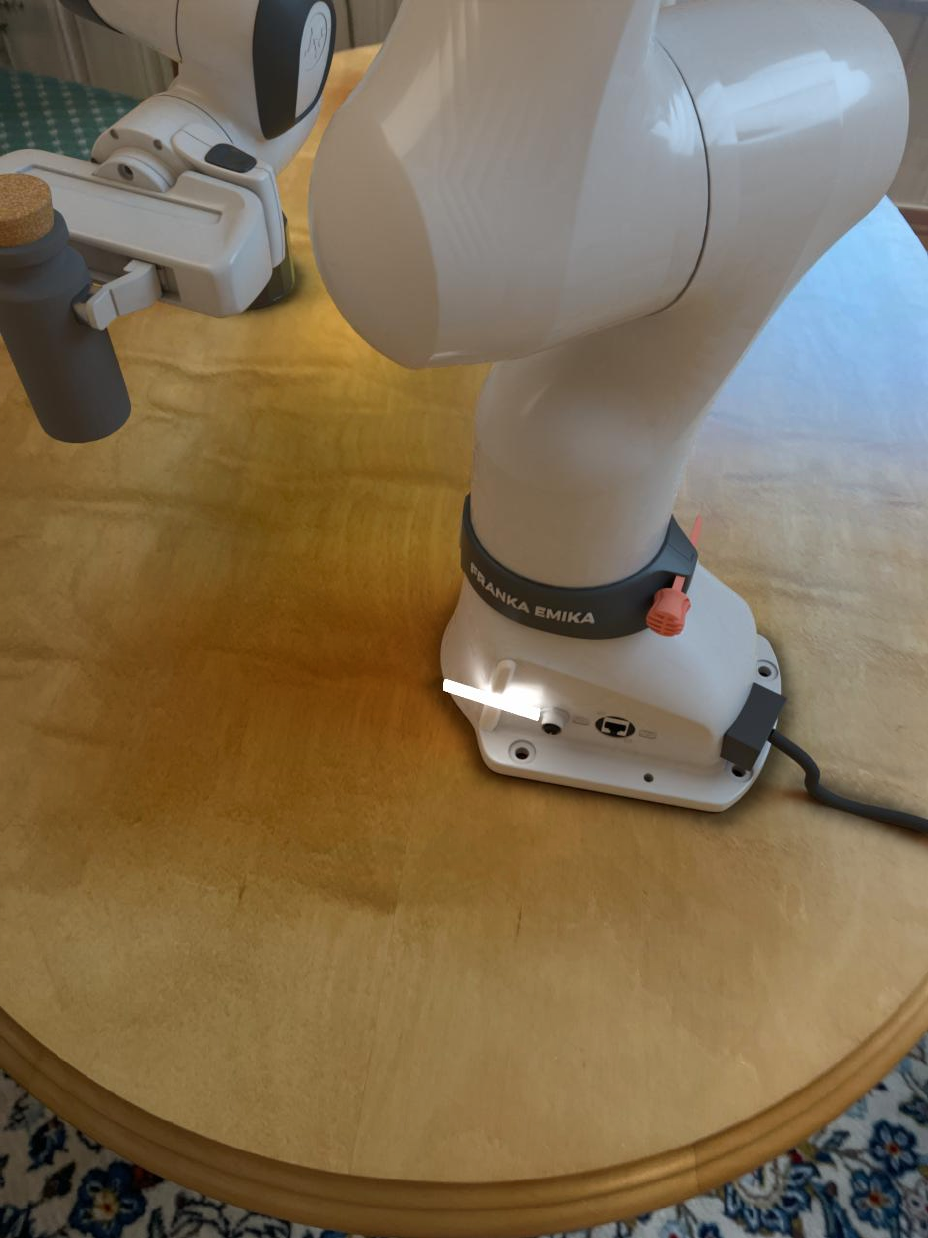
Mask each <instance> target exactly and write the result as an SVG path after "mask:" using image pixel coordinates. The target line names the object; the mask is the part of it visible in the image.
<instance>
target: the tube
mask: <svg viewBox="0 0 928 1238" xmlns="http://www.w3.org/2000/svg"><path fill="white" fill-rule="evenodd" d="M282 215H283V223H284V234H285V258H284V260H283V261H282V262H281V263H280V264H279V265H278V266H276V267H275V268H273V269H272V275H271V278H270V280H269V281H268V283H267V284H266V286H265V287H264V289H263V290H262V291H261V293H260V294H259V295H258V296H257V298H256V299H255V300H254V301H253V302H252V303H251V304H250V306H249V307H248V308H247V309H246V310H245V311H250V310H258V309H263V308H266V307H269V306H271V305H272V306H273V305H275V304H276V303H278V302H280V301H282V300H283V299H285V298H286V297H287V296H288V295H289V294H290V293H291V291H292V290H293V288H294V286H295V281H296V280H295V266H294V258H293V253H292V244H291V243H292V242H291V237H290V229H289V221H288V218H287V216H286V214H285V212H284V210H282Z"/></svg>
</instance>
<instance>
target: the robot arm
mask: <svg viewBox="0 0 928 1238" xmlns="http://www.w3.org/2000/svg"><path fill="white" fill-rule="evenodd" d="M58 2H59V3H60V5H61V6H63V8H65V9H66V10H67V11H68V12H70V13H71V14H73V15H75V16H78V17H80V18H82V19H85V20H87V21H89V22H92V23H94V24H97V25H99V26H100V27H103V28H106V29H108V30H111V31H113V32H115V33H118V34H120V35H125V36H127V37H129V38H131V39H133V40H135V41H136V42H139V43H140V44H142V45H144V46H147V47H148V48H149V49H151V50H153V51H155V52H157V53H159V54H161V55H163V56H164V57H166V58H168V59H170V60H172V61H174V62H176V63H177V65H178V74H177V75H176V77H174V79H173V80H172V81H171V82H170V84H169V86H168V88H167V90H166V91H165V90H164V91H162V92H158V93H156V94H153V95H151V96H149V97H147V98H146V99H145V100H143V101H142V102H141V103H139V104H138V105H137V106H135V107H134V108H132V109H131V110H130V111H129V112H128V113H126V114H125V115H124V116H123V117H121V118H120V119H118V120H117V121H116V122H115V123H114V124H112V125H111V126H110V127H108V128H107V129H106V130H105V131H103V132H101V134H100V135H99V136H98V137H97V138H96V140H95V141H94V144H93V145H92V149H91V153H90V161H88V160H84V159H79V158H75V157H71V156H67V155H64V154H59V153H56V152H52V151H46V150H42V149H36V148H35V149H34V148H23V149H17V150H13V151H11V152H9V153H5V154H4V155H1V156H0V175H1V174H27V175H32V176H35V177H38V178H40V179H42V180H43V181H45V182H46V183H47V184H48V185H49V187H50V189H51V194H52V203H53V208H54V209H56V210H57V211H58V212H60V213H61V215H62V216H63V217H64V220H65V222H66V225H67V228H68V231H69V240H68V243H67V245H68V246H70V247H72V248H73V249H75V250H76V251H77V252H79V253H80V254H81V255H82V257H83V259H84V260H85V263H86V265H87V268H88V271H89V274H90V277H91V280H92V283H93V285H91V284H87V285H86V286H85V287H84V288H83V289H82V290H81V293H79V294H77V295H76V296H75V297H74V298H73V299H72V303H71V306H72V310H73V311H74V313H75V314H76V317H75V318H76V321H77V322H78V323H79V324H82V325H85V326H88V327H91V328H95V329H98V330H104V329H105V328H106V327H107V328H108V326H109V325H111V323H113V322H114V320H115V319H116V318H118V317H123V316H126V315H129V314H132V313H135V312H138V311H142V310H145V309H148V308H151V307H152V306H153V305H154V304H155V303H156V302H159V303H163V304H166V305H169V306H173V307H177V308H180V309H183V310H188V311H192V312H194V313H198V314H202V315H205V316H208V317H211V318H214V319H225V318H229V317H234V316H237V315H240V314H242V313H244V312H245V311H247V310H246V309H247V308H248V307H249V306H250V304H251V303H252V302H253V301H254V300H255V299H256V298H257V296H258V295H259V294H260V293H261V291H262V290H263V289H264V287H265V286H266V284H267V283H268V281H269V280H270V278H271V275H272V269H273V268H275V267H276V266H278V265H279V264H280V263H281V262H282V261H283V260H284V258H285V234H284V223H283V215H282V211H283V208H282V203H281V197H280V192H279V188H278V183H277V178H278V177H280V175H282V173H283V172H284V171H285V170H286V169H287V168H288V166H290V164H291V163H292V161H293V160H294V159H295V157H296V156H297V155H298V153H299V152H300V151H301V150H302V148H303V146H304V145H305V143H306V142H307V140H308V139H309V137H310V135H311V133H312V131H313V129H314V127H315V126H316V124H317V121H318V118H319V116H320V113H321V109H322V104H323V92H324V90H325V87H326V83H327V81H328V78H329V73H330V72H331V67H332V62H333V58H334V53H335V48H336V47H335V46H336V40H337V39H336V37H337V13H336V9H335V2H334V0H58ZM661 4H662V0H402V1H401V3H400V6H399V8H398V11H397V13H396V16H395V18H394V21H392V24H391V26H390V29H389V30H388V31H387V34H386V36H385V39H384V40H383V43H382V44H381V46H380V48H379V50H378V52H376V55H375V57H373V60H372V61H371V63H370V64H369V66H368V67H367V70H366V71H365V73H364V74H363V76H361V78H360V80H359V81H358V82H357V84H356V85H355V86H354V88H353V89H352V90H351V91H350V93H349V94H348V95H347V97H346V98H345V100H344V101H343V102H342V103H341V104H340V106H338V108H337V109H336V110H335V111H334V113H333V114H332V116H331V117H330V120H329V122H328V124H327V126H326V127H325V130H324V132H323V134H322V136H321V139H320V142H319V144H318V147H317V149H316V153H315V156H314V160H313V165H312V167H311V168H312V169H311V173H310V177H309V184H308V185H309V186H308V196H307V218H308V219H307V220H308V232H309V233H308V234H309V240H310V243H311V250H312V255H313V257H314V261H315V264H316V268H317V271H318V274H319V276H320V279H321V281H322V284H323V286H324V288H325V290H326V292H327V294H328V295H329V297H330V299H331V301H332V302H333V304H334V306H335V307H336V309H337V311H338V312H339V314H340V315H341V317H342V318H343V319H344V320H345V321H346V323H347V324H348V325H349V327H350V328H351V329H352V330H353V331H354V333H356V334H357V335H358V336H359V337H360V338H361V339H362V340H363V341H364V342H365V343H366V344H367V345H368V346H369V347H370V348H372V349H373V350H375V351H376V352H377V353H379V354H380V355H382V356H383V357H384V358H385V359H387V360H389V361H390V362H393V363H395V364H396V365H398V366H400V367H401V368H404V369H407V370H410V371H423V370H434V369H444V368H445V369H447V368H455V367H467V366H476V365H485V364H492V365H491V366H490V368H489V369H488V371H487V373H486V375H485V377H484V379H483V381H482V383H481V385H480V388H479V390H478V393H477V397H476V400H475V405H474V409H473V420H472V421H473V422H472V423H473V424H472V451H471V472H470V473H471V477H470V491H469V492H468V493H467V494H466V495H465V496H464V501H463V506H462V512H461V517H460V518H461V519H460V524H459V536H458V538H459V539H458V545H459V546H458V547H459V550H460V569H461V570H462V573H463V580H462V585H461V589H460V594H459V598H458V600H457V604H456V607H455V610H454V612H453V614H452V616H451V617H450V620H449V621H448V623H447V625H446V628H445V630H444V633H443V636H442V639H441V643H440V650H439V651H440V652H439V661H440V669H441V674H442V678H443V691H445V692H448V693H449V695H450V696H451V698H452V700H453V701H454V703H455V704H456V706H457V707H458V709H459V710H460V711H461V712H462V714H463V715H464V716H465V717H466V718H467V720H468V721H469V723H470V724H471V725H472V727H473V729H474V733H475V736H476V742H477V745H478V749H479V752H480V756H481V758H482V760H483V762H484V764H485V765H486V767H487V768H488V769H489V770H491V771H492V772H495V773H497V774H500V775H505V776H511V777H515V778H522V779H526V780H527V779H528V780H532V781H538V782H543V783H549V784H554V785H561V786H565V787H570V788H571V787H572V788H577V789H581V790H582V789H583V790H588V791H593V792H598V793H605V794H610V795H616V796H620V797H626V798H630V799H631V798H632V799H636V800H637V799H638V800H643V801H649V802H653V803H660V804H664V805H671V806H676V807H682V808H687V809H691V810H692V809H693V810H697V811H703V812H711V813H721V812H724V811H727V810H728V809H729V808H730V807H732V806H733V805H735V804H736V803H737V802H738V801H740V800H741V798H742V797H744V796H745V794H747V792H749V790H750V789H751V787H752V786H753V785H754V784H755V781H756V780H757V778H758V777H759V775H760V773H761V771H762V769H763V767H764V765H765V762H766V760H767V757H768V755H769V752H770V750H771V746H773V747H775V748H776V749H777V750H779V751H780V752H781V753H783V754H785V755H786V756H787V757H788V758H790V759H791V760H793V761H794V762H795V763H796V764H797V765H798V766H799V767H800V768H801V769H802V770H803V771H804V773H805V776H804V787H805V789H806V791H807V792H808V793H809V794H810V795H811V796H812V797H813V798H815V800H817V801H819V802H820V803H822V804H824V805H825V806H828V807H831V808H833V809H836V810H837V811H841V812H845V813H849V814H852V815H855V816H859V817H861V818H865V819H870V820H873V821H878V822H883V823H887V824H891V825H896V826H900V827H904V828H907V829H911V830H914V831H916V832H920V833H923V834H925V835H928V819H927V818H924V817H921V816H918V815H914V814H912V813H907V812H904V811H899V810H895V809H891V808H885V807H880V806H876V805H871V804H865V803H861V802H859V801H855V800H850V799H848V798H845V797H842V796H840V795H838V794H836V793H834V792H832V791H830V790H829V789H827V788H826V787H824V786H823V785H822V784H820V781H821V780H820V778H821V771H820V768H819V766H818V764H817V763H816V761H815V760H814V759H813V758H812V757H811V755H809V754H808V753H807V751H805V750H804V749H803V748H801V747H800V746H799V745H797V744H796V743H795V742H794V741H792V740H790V739H789V738H787V737H786V736H785V735H784V734H782V733H780V732H779V730H777V725H778V720H779V716H780V715H781V713H782V711H783V709H784V707H785V705H786V702H787V700H788V697H786V696H784V695H782V679H781V672H780V671H781V670H780V666H779V662H778V659H777V657H776V654H775V652H774V649H773V647H772V645H771V643H770V642H769V640H768V639H767V638H766V637H765V636H763V635H761V634H759V633H758V630H757V624H756V620H755V616H754V613H753V611H752V609H751V607H750V606H749V604H748V603H747V601H746V600H745V599H744V598H743V597H742V596H741V595H739V594H738V593H737V592H736V591H734V590H733V589H731V588H730V587H729V586H728V585H726V584H725V582H723V581H721V580H720V579H719V578H718V577H717V576H715V575H714V574H713V573H712V572H710V570H709V569H707V568H706V567H705V566H703V565H702V564H700V561H699V559H698V558H699V553H698V550H697V546H698V543H699V540H700V536H701V533H702V515H700V514H698V515H697V517H696V519H695V522H694V525H693V528H692V530H691V534H690V535H689V537H688V536H687V534H686V533H685V532H684V531H683V529H682V528H681V526H680V525H679V523H678V521H677V520H676V518H675V516H674V514H673V511H674V507H675V504H676V501H677V497H678V494H679V491H680V488H681V484H682V481H683V479H684V475H685V472H686V469H687V466H688V463H689V460H690V457H691V453H692V450H693V448H694V445H695V442H696V440H697V437H698V435H699V433H700V431H701V429H702V427H703V425H704V423H705V421H706V419H707V417H708V415H709V414H710V412H711V410H712V409H713V407H714V405H715V404H716V402H717V401H718V399H719V397H720V395H721V394H722V393H723V391H724V390H725V388H726V386H727V385H728V383H729V382H730V380H731V379H732V377H733V375H734V374H735V373H736V371H737V370H738V368H739V367H740V365H741V363H742V362H743V361H744V359H745V358H746V356H747V355H748V353H749V352H750V350H751V349H752V347H753V346H754V344H755V343H756V341H757V340H758V339H759V337H760V335H761V334H762V333H763V332H764V330H765V328H766V327H767V326H768V324H769V323H770V321H771V320H772V318H773V317H774V316H775V314H776V313H777V312H778V310H779V309H780V308H781V306H782V305H783V304H784V302H785V301H786V300H787V298H788V297H789V296H790V294H791V293H792V292H793V291H794V289H795V288H796V287H797V286H798V285H799V283H800V282H801V281H802V280H803V279H804V277H805V276H806V275H807V273H809V271H811V269H812V268H813V267H814V266H815V265H816V264H817V263H818V262H819V261H820V260H821V259H822V257H824V255H825V254H826V253H827V252H828V251H829V250H831V249H832V247H834V246H835V245H836V244H837V243H838V242H839V241H840V240H841V239H842V238H843V237H844V236H845V235H846V234H848V233H849V232H850V231H851V230H852V229H853V228H854V227H856V226H857V225H858V224H859V223H860V222H861V221H862V220H864V219H865V218H866V217H867V216H868V215H869V214H870V213H872V212H873V210H874V209H875V208H876V207H877V206H878V204H880V203H881V201H882V200H883V198H884V197H885V195H886V194H887V192H888V191H889V189H890V188H891V186H892V183H893V182H894V180H895V178H896V176H897V173H898V170H899V169H900V165H901V163H902V160H903V156H904V152H905V149H906V144H907V139H908V132H909V124H910V123H909V122H910V94H909V87H908V86H909V85H908V81H907V75H906V71H905V66H904V64H903V60H902V57H901V54H900V52H899V49H898V47H897V45H896V43H895V41H894V39H893V37H892V35H891V33H890V32H889V30H888V29H887V28H886V26H885V24H883V22H882V21H881V20H880V19H879V18H878V16H877V15H875V13H874V12H873V11H871V10H870V9H868V8H867V7H866V6H865V5H863V4H861V3H860V2H857V1H856V0H689V1H684V2H680V3H675V4H672V5H671V4H670V5H667V6H662V7H661ZM760 673H763V674H765V675H766V676H763V675H761V674H760ZM518 754H524V755H525V756H526V758H523V759H521V758H519V757H517V755H518ZM733 771H737V772H739V773H740V774H741V775H742V776H738V775H737V776H736V775H735V774H734V773H733Z"/></svg>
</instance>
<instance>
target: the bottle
mask: <svg viewBox="0 0 928 1238" xmlns="http://www.w3.org/2000/svg"><path fill="white" fill-rule="evenodd" d="M68 240H69V231H68V228H67V225H66V222H65V220H64V217H63V216H62V215H61V213H60V212H58V211H57V210H56V209H54V208H53V203H52V194H51V189H50V187H49V185H48V184H47V183H46V182H45V181H43V180H42V179H40V178H38V177H35V176H32V175H27V174H1V175H0V336H1V338H2V340H3V343H4V344H5V347H6V350H7V352H8V354H9V357H10V360H11V362H12V364H13V366H14V369H15V370H16V373H17V375H18V377H19V380H20V383H21V384H22V387H23V390H24V391H25V394H26V396H27V398H28V400H29V403H30V405H31V407H32V409H33V412H34V414H35V416H36V418H37V420H38V423H39V425H40V427H41V429H42V430H43V432H44V433H45V434H46V435H48V436H49V437H50V438H52V439H54V440H56V441H59V442H62V443H68V444H85V443H92V442H96V441H100V440H103V439H105V438H107V437H109V436H111V435H113V434H114V433H116V432H117V431H119V430H120V429H121V428H123V426H124V425H126V423H127V422H128V420H129V418H130V416H131V412H132V403H131V399H130V395H129V392H128V389H127V385H126V382H125V378H124V375H123V372H122V369H121V366H120V363H119V359H118V356H117V354H116V351H115V347H114V344H113V342H112V338H111V335H110V332H109V329H108V326H107V327H106V328H105V329H104V330H98V329H95V328H91V327H88V326H85V325H82V324H79V323H78V322H77V321H76V318H75V317H76V314H75V313H74V311H73V310H72V306H71V303H72V299H73V298H74V297H75V296H76V295H77V294H79V293H81V290H82V289H83V288H84V287H85V286H86V285H87V284H91V285H94V283H92V280H91V277H90V274H89V271H88V268H87V265H86V263H85V260H84V259H83V257H82V255H81V254H80V253H79V252H77V251H76V250H75V249H73V248H72V247H70V246H68V245H67V243H68Z"/></svg>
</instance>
